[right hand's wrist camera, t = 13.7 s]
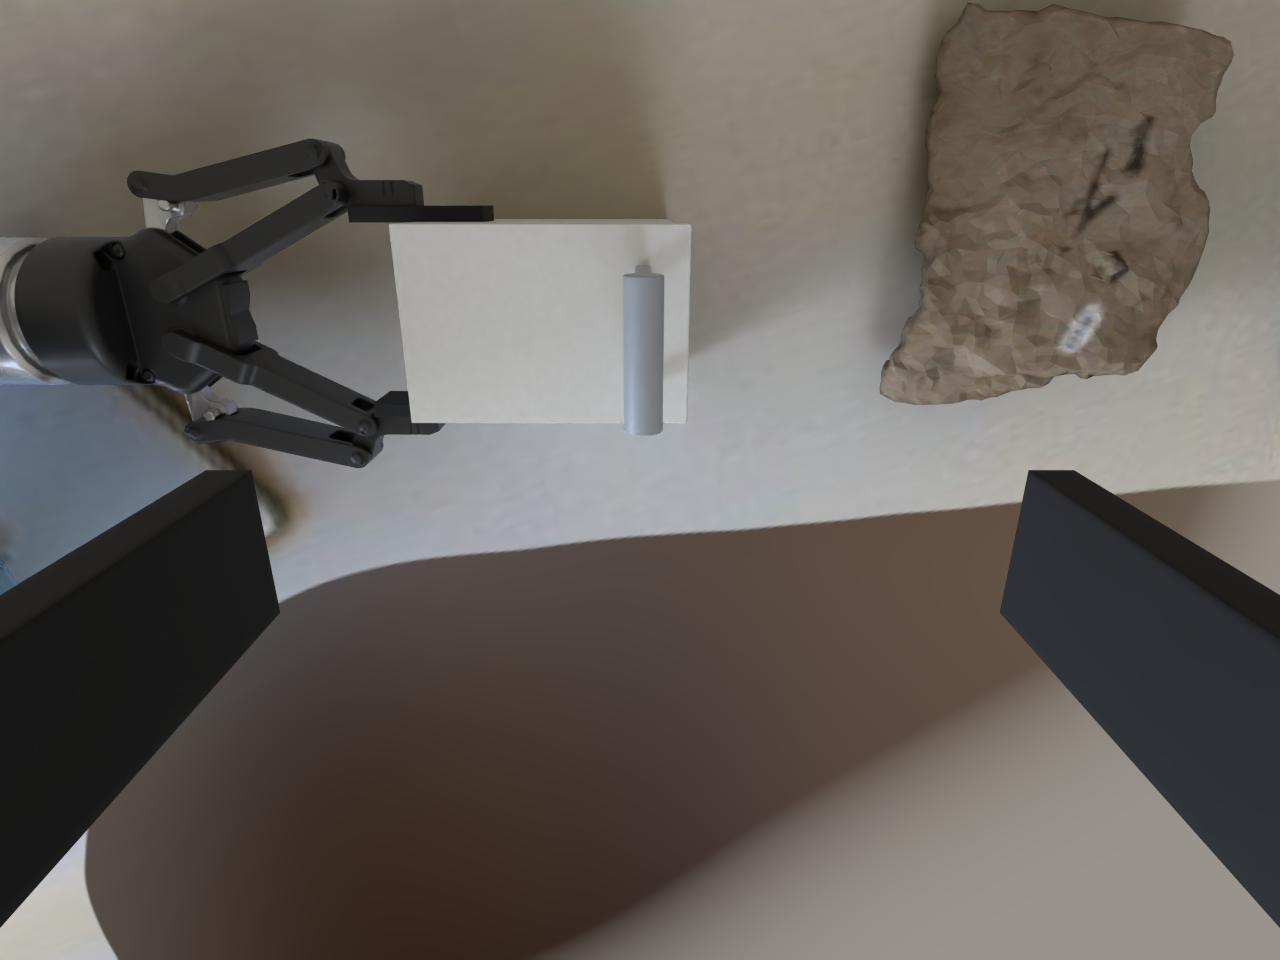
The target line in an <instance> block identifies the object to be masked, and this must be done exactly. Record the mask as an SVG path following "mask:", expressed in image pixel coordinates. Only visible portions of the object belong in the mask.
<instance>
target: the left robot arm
mask: <svg viewBox="0 0 1280 960" xmlns="http://www.w3.org/2000/svg"><path fill="white" fill-rule="evenodd" d="M345 158H346V157H345V152H344V151H343V149H342V148H341V147H340V146H339V145H338V144H335V143H332V142H327V141H322V140H317V139H306V140H303V141H299V142H295V143H292V144H288V145H284V146H280V147H277V148H273V149H269V150H266V151H262V152H258V153H255V154H251V155H247V156H244V157H240V158H236V159H232V160H229V161H225V162H221V163H218V164H214V165H210V166H207V167H203V168H199V169H195V170H192V171H188V172H184V173H181V174H174V173H163V172H148V171H133V172H132V173H130V174H129V176H128V178H127V184H128V187H129V189H130V191H131V192H132V193H133V194H134V195H136V196H138V197H141V198H142V201H143V209H144V218H145V226H146V228H145V229H142V230H140V231H139V232H137V233H136V234H135V235H133V236H131V237H57V238H51V239H45V238H8V237H0V384H24V385H66V384H72V383H75V384H82V385H161V386H164V387H167V388H170V389H172V390H174V391H176V392H178V393H181V394H184V397H185V400H186V403H187V406H188V409H189V412H190V414H191V417H192V420H193V422H191V423H189V424H188V425H187V426H186V427H185V435H186V437H187V438H188V439H189V440H190V441H191V442H194V443H198V444H200V443H209V442H218V441H227V440H231V441H235V442H240V443H244V444H249V445H254V446H258V447H263V448H267V449H272V450H277V451H281V452H286V453H290V454H295V455H299V456H304V457H309V458H313V459H318V460H322V461H327V462H332V463H336V464H341V465H345V466H350V467H355V468H362V467H365V466H366V465H367V464H368V463H369V462H370V461H371V460H372V459H373V458H374V457H376V456H377V455H378V454H379V453H380V452H381V451H382V449H383V442H382V441H383V437H384V435H387V434H426V435H430V434H433V433H435V432H438V431H439V430H440V429H441V428H442V427H443V426H444V425H445V423H412V421H411V412H410V404H409V395H408V391H390V392H388V393H387V394H386V395H384V396H383V397H382V398H380V399H379V400H378V401H374V400H372V399H370V398H368V397H366V396H364V395H362V394H359V393H357V392H355V391H353V390H351V389H349V388H347V387H344V386H342V385H340V384H338V383H336V382H334V381H332V380H329V379H327V378H325V377H323V376H321V375H319V374H317V373H314V372H312V371H310V370H308V369H306V368H304V367H302V366H300V365H297V364H295V363H293V362H291V361H289V360H287V359H285V358H282V357H280V356H279V355H278V353H277V352H276V351H275V350H273V349H271V348H269V347H267V346H265V345H263V344H260V343H258V342H256V341H254V340H257V339H258V335H257V330H256V325H255V323H254V320H253V318H252V316H251V314H250V311H249V303H250V292H249V287H248V281H243V280H242V278H241V276H242V275H244V274H246V273H247V272H249V271H251V270H252V269H254V268H256V267H257V266H259V265H260V264H262V262H263V261H264V260H266V259H268V258H269V257H271V256H273V255H274V254H276V253H278V252H280V251H281V250H283V249H285V248H286V247H288V246H290V245H291V244H293V243H295V242H297V241H298V240H300V239H302V238H303V237H305V236H307V235H308V234H310V233H312V232H314V231H315V230H317V229H319V228H320V227H322V226H324V225H326V224H327V223H329V222H331V221H332V220H334V219H336V218H337V217H339V216H341V215H343V214H344V213H346V212H348V216H349V222H488V221H494V214H493V206H424V199H423V189H422V185H420V184H417V183H415V182H413V181H405V180H359V179H357V178H356V177H354V176H353V175H352V174H351V172H350V170H349V168H348V166H347V164H346V162H345ZM312 175H315V176H316V178H317V181H318V183H319V185H318V186H317V187H315V188H313V189H312V190H310V191H308V192H307V193H305V194H303V195H302V196H300V197H298V198H297V199H295V200H293V201H292V202H290V203H288V204H287V205H285V206H283V207H282V208H280V209H278V210H277V211H275V212H273V213H272V214H270V215H268V216H267V217H265V218H263V219H262V220H260V221H258V222H257V223H255V224H253V225H252V226H250V227H248V228H247V229H245V230H243V231H242V232H240V233H238V234H237V235H235V236H233V237H232V238H230V239H228V240H227V241H225V242H223V243H221V244H218V245H215V246H213V247H210V248H209V249H205V248H204V247H202V246H201V245H199V244H198V243H196V242H195V241H193V240H192V239H190V238H189V237H187V236H186V235H184V234H183V233H181V232H179V231H178V230H176V228H177V223H178V221H179V220H180V219H182V218H186V217H190V216H192V215H193V214H194V212H195V210H196V209H197V203H196V202H206V201H216V200H221V199H225V198H229V197H233V196H236V195H240V194H244V193H248V192H251V191H255V190H259V189H263V188H267V187H270V186H274V185H278V184H282V183H285V182H289V181H293V180H297V179H300V178H304V177H308V176H312ZM222 377H225V378H227V379H229V380H231V381H233V382H236V383H239V384H245V385H252V386H254V387H256V388H259V389H261V390H263V391H265V392H267V393H269V394H272V395H274V396H276V397H278V398H280V399H283V400H285V401H287V402H289V403H291V404H293V405H296V406H298V407H300V408H302V409H304V410H307V411H309V412H311V413H313V414H315V415H317V416H320V417H322V418H324V419H326V420H328V421H331V422H333V423H335V424H337V425H339V426H341V427H337V426H333V425H328V424H324V423H319V422H315V421H310V420H306V419H301V418H297V417H292V416H288V415H283V414H279V413H274V412H270V411H265V410H261V409H255V408H238V405H237V403H236V402H235V401H233V400H229V399H226V398H220V397H218V396H216V395H215V394H214V393H213V392H212V391H211V389H210V387H211V386H212V385H213V384H214V383H216V382H217V381H218V380H219V379H220V378H222ZM342 427H344V428H342ZM18 584H19V583H18V582H17V581H16V579H15V578H14V577H13V576H12V574H11V573H10V572H9V570H8V569H7V568H6V565H5V563H4V562H3V561H2V560H1V559H0V595H1V594H3V593H5V592H6V591H8V590H9V589H11V588H13V587H14V586H16V585H18Z"/></svg>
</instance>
